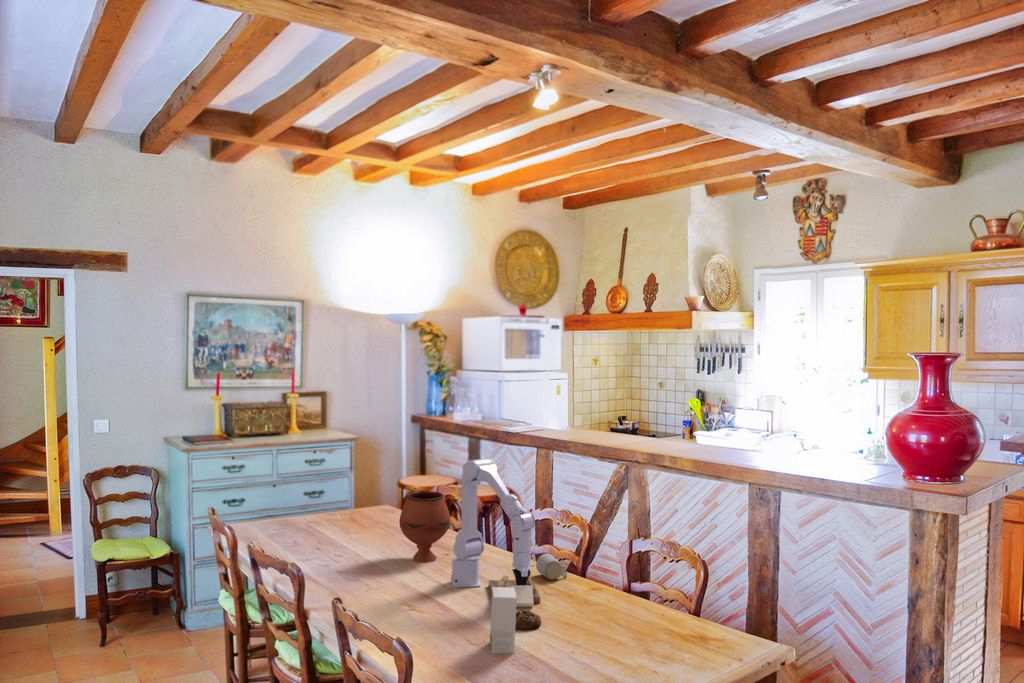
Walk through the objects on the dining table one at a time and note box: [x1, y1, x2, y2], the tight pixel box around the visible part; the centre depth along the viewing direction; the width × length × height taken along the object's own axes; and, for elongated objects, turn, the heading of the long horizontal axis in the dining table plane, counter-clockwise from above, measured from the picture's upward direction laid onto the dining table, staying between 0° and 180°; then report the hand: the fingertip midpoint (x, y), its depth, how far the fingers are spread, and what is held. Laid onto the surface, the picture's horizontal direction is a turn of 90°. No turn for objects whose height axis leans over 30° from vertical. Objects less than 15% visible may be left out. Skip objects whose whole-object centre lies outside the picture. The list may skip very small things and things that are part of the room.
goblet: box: [399, 491, 451, 564], centre depth 292 cm, size 19×19×25 cm
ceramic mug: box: [535, 553, 569, 581], centre depth 274 cm, size 11×8×8 cm
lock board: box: [488, 577, 541, 604], centre depth 254 cm, size 15×18×4 cm
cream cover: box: [511, 585, 535, 608], centre depth 243 cm, size 7×6×2 cm
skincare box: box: [489, 587, 517, 655], centre depth 209 cm, size 8×7×16 cm
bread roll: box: [515, 609, 542, 632], centre depth 227 cm, size 11×11×5 cm
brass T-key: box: [498, 575, 509, 587], centre depth 245 cm, size 12×2×5 cm, turn 170°
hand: (521, 592), depth 247 cm, fingers closed
